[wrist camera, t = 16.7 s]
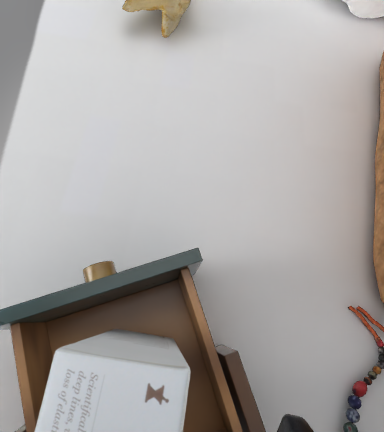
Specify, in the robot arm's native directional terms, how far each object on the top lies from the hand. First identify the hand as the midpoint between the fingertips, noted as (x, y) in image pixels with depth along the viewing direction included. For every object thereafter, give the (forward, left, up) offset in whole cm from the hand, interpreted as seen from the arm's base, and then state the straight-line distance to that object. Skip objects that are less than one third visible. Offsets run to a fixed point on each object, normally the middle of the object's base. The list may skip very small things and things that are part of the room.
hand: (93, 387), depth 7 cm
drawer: (-1, -2, -15) cm, 15 cm away
